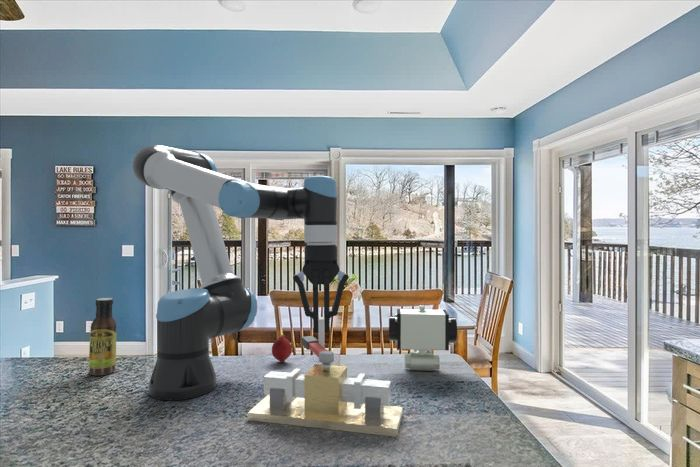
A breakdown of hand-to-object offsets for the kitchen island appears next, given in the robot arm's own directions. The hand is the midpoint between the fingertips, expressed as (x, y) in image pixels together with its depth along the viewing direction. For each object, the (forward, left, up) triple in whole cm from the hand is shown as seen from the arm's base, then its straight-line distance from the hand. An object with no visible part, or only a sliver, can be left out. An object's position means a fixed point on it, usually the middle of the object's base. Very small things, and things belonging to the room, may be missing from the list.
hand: (321, 346), depth 97 cm
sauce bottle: (-62, +2, -12) cm, 63 cm away
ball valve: (+21, +25, -12) cm, 35 cm away
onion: (-19, +22, -12) cm, 31 cm away
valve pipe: (+4, -10, -12) cm, 16 cm away
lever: (0, -5, 0) cm, 5 cm away
